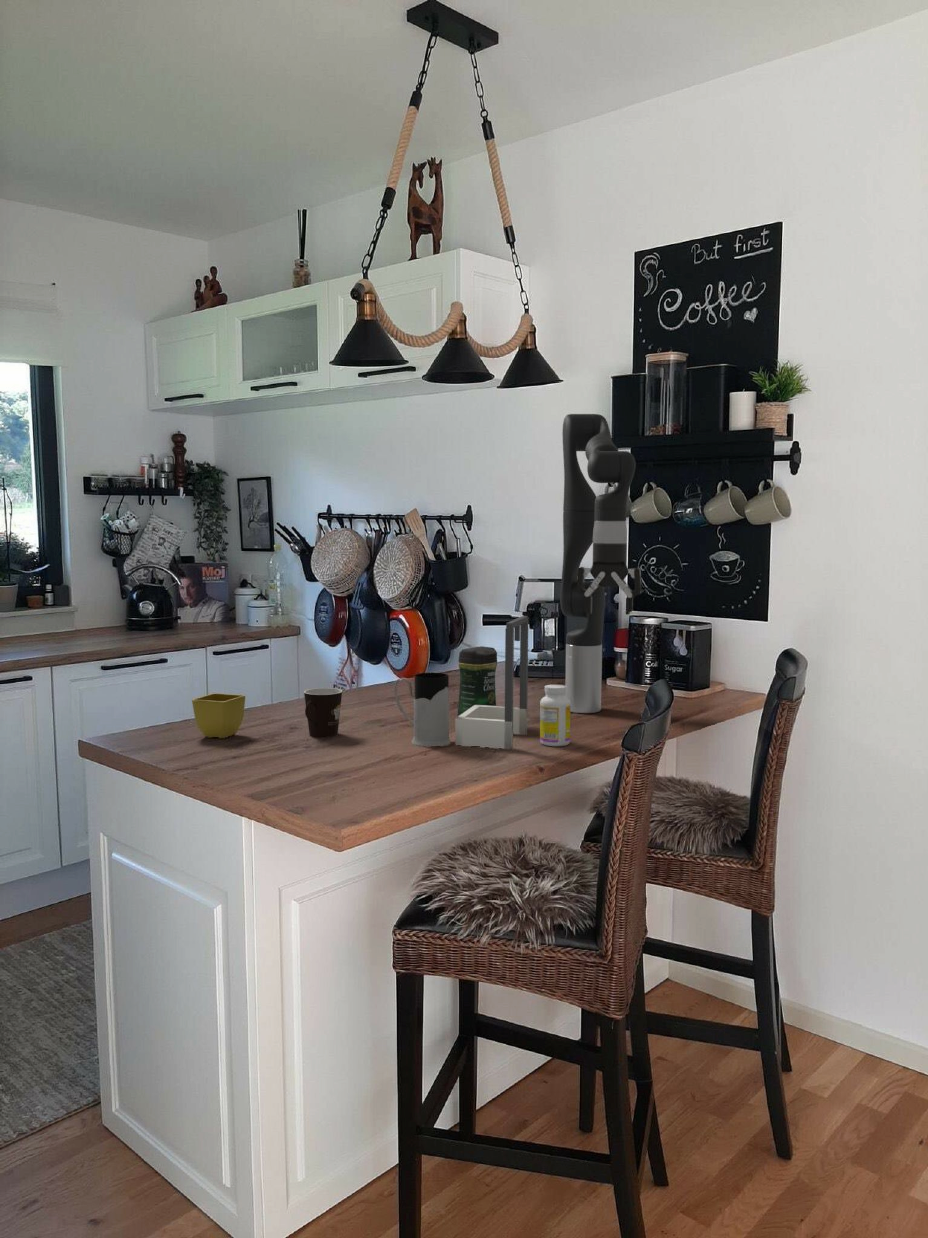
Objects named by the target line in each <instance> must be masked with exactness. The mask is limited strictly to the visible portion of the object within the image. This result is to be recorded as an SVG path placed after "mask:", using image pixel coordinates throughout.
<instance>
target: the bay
mask: <svg viewBox="0 0 928 1238" xmlns="http://www.w3.org/2000/svg"><path fill="white" fill-rule="evenodd" d="M528 620H529V617H528V615H521V616H520V617H517V618H514V619H513V620H510V621H508V622H506V623H505V625H506V626H505V639H504V640H505V643H504V645H505V646H504V648H505V649H504V653H505V654H504V656H505V657H504V664H505V665H504V706H501V705H499V706H498V705H496V706H487V705H474V706H472V707H471V708H470V709H468V710H467V711H465V712H464V713H462V714H461V715H459V716H458V717H455V719H454V721H455V726H454V727H455V728H454V731H455V732H454V733H455V734H454V735H455V740H454V741H455V746H457V745H461V746H460V747H471V746H480V747H479V748H485V747H489V748H488V749H499V748H502V750H503V749H504V750H512V749H513V748H514V744H513V743H514V742H513V741H514V735H518V736H519V735H520V736H522V735H523V736H526V735H527V734H528V695H529V694H528V690H529V689H528V687H529V686H528V685H529V684H528V683H529V682H528V680H529V672H528V671H529V669H528V668H529V621H528ZM515 642H520V643H519V653H520V654H519V706H518V707H517V706H514V666H515V665H514V664H515V663H514V661H515V660H514V659H515V658H514V657H515V656H514V655H515V654H514V653H515Z"/></svg>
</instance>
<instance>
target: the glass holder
mask: <svg viewBox="0 0 928 1238" xmlns="http://www.w3.org/2000/svg"><path fill="white" fill-rule="evenodd" d="M401 680H404V681H405V682H406V683H407V684H408V689H409V696H410V698H412V699H413V720H412V719H411V718H410V717H409V716H408V715H407V713H406V712H405V710H404V709H403V707H402V705H401V702H400V700H399V695H398V683H399V681H401ZM449 680H450V679H449V674H448V673H443V672H421V673H416V674H414V695H413V686H412V683H411V682H410V680H409V679H408V678H407V677H400V678H398V679H397V680H396V681H395V683H394V687H393V689H394V690H393V691H394V692H393V693H394V698H395V702H396V704H397V707H398V709H399V711H400V713H402V715H403V716H404V717H405V719H406V720H407V721H408V722H409V723H410V724H411V725H412V727H413V738H412V740H411V744H412V745H414V746H416V745H417V747H422V746H430V747H429V748H432V747H431V746H441V747H445V746H444V745H446V746H449V745H451V744H452V740H451V739H450V688H449V685H450V684H449ZM450 743H451V744H450ZM448 744H449V745H448Z"/></svg>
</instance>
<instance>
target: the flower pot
mask: <svg viewBox="0 0 928 1238" xmlns="http://www.w3.org/2000/svg"><path fill="white" fill-rule="evenodd" d="M191 702H192V708H193V713H194V719H195V723H196V725H197V728H198V729H199V731H200V732H201V733H202V735H203V736H204V737H205V736H208V737H207V738H212V737H219V738H218V739H222V738H223V739H225V737H226V738H228V736H229V737H231V736H234V735H236V734H237V733H238V731H239V729H240V727H241V725H242V722H243V720H244V715H245V707H246V706H245V705H246V694H245V695H244V694H232V693H231V694H230V693H219V692H218V693H217V692H215V693H214V692H213V693H209V694H207V695H206V694H205V695H203V696H200V697H196V698H193V699H191ZM233 734H234V735H233Z"/></svg>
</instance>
